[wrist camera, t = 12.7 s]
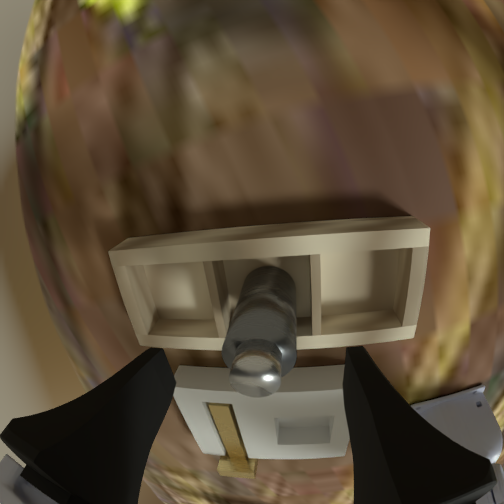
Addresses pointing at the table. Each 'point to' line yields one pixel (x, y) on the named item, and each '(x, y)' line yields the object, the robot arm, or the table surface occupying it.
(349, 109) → the table surface
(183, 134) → the table surface
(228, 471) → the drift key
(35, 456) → the robot arm
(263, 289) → the stepped metal cylinder
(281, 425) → the socket block
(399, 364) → the table surface
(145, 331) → the rack
